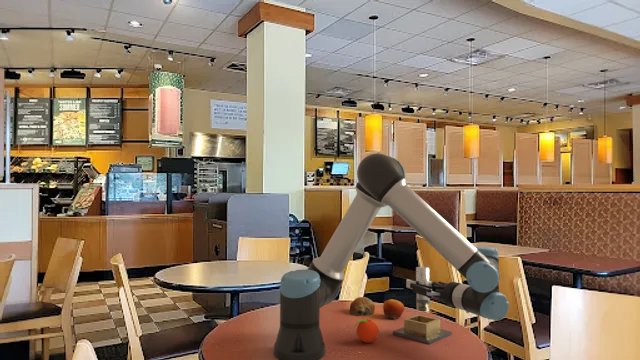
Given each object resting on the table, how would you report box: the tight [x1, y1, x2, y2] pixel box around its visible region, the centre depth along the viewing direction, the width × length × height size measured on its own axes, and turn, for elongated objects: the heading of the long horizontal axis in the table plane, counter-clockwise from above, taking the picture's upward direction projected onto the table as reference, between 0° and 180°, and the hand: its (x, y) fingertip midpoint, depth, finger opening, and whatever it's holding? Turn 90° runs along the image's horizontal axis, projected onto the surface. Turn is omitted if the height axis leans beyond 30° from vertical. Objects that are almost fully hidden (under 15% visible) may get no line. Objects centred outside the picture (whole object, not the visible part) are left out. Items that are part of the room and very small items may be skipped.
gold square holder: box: [392, 314, 453, 345], centre depth 149 cm, size 14×14×5 cm
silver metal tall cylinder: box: [415, 266, 431, 312], centre depth 149 cm, size 5×5×14 cm
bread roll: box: [349, 296, 376, 317], centre depth 176 cm, size 10×10×8 cm
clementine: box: [353, 319, 379, 344], centre depth 140 cm, size 8×7×7 cm
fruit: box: [382, 298, 405, 320], centre depth 169 cm, size 8×8×8 cm
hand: (413, 282), depth 154 cm, fingers closed on silver metal tall cylinder, 4 cm apart
